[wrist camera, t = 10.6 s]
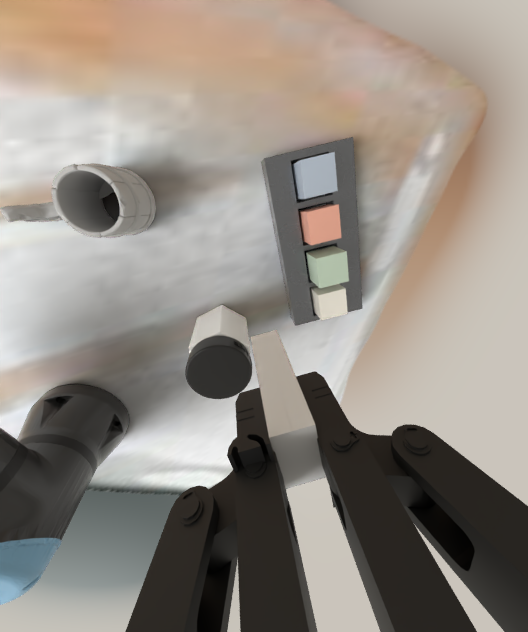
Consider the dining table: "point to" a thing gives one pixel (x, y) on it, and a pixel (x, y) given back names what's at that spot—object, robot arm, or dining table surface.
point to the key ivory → (329, 301)
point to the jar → (219, 354)
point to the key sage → (328, 266)
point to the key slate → (315, 176)
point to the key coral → (320, 224)
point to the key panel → (290, 232)
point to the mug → (93, 202)
